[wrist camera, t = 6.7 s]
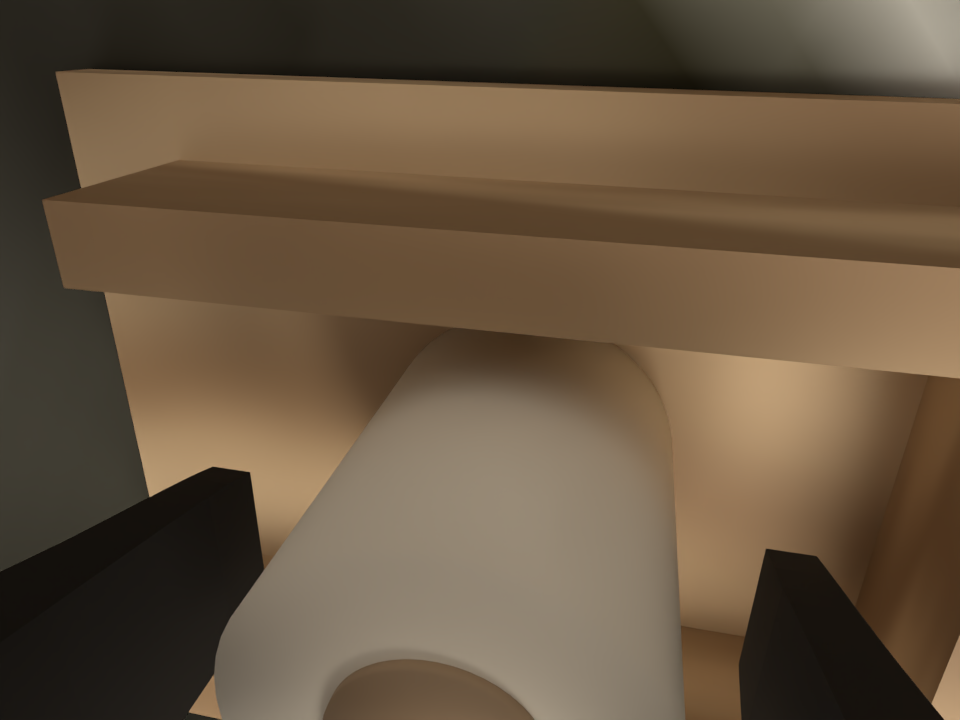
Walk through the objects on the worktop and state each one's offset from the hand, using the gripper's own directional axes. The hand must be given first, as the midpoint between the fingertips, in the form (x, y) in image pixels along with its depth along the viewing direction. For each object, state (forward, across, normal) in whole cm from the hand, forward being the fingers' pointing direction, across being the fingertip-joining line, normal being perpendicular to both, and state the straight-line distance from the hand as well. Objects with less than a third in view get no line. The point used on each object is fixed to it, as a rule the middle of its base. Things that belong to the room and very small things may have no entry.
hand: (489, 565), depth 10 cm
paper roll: (+3, 0, 0) cm, 3 cm away
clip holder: (+4, 0, 0) cm, 4 cm away
